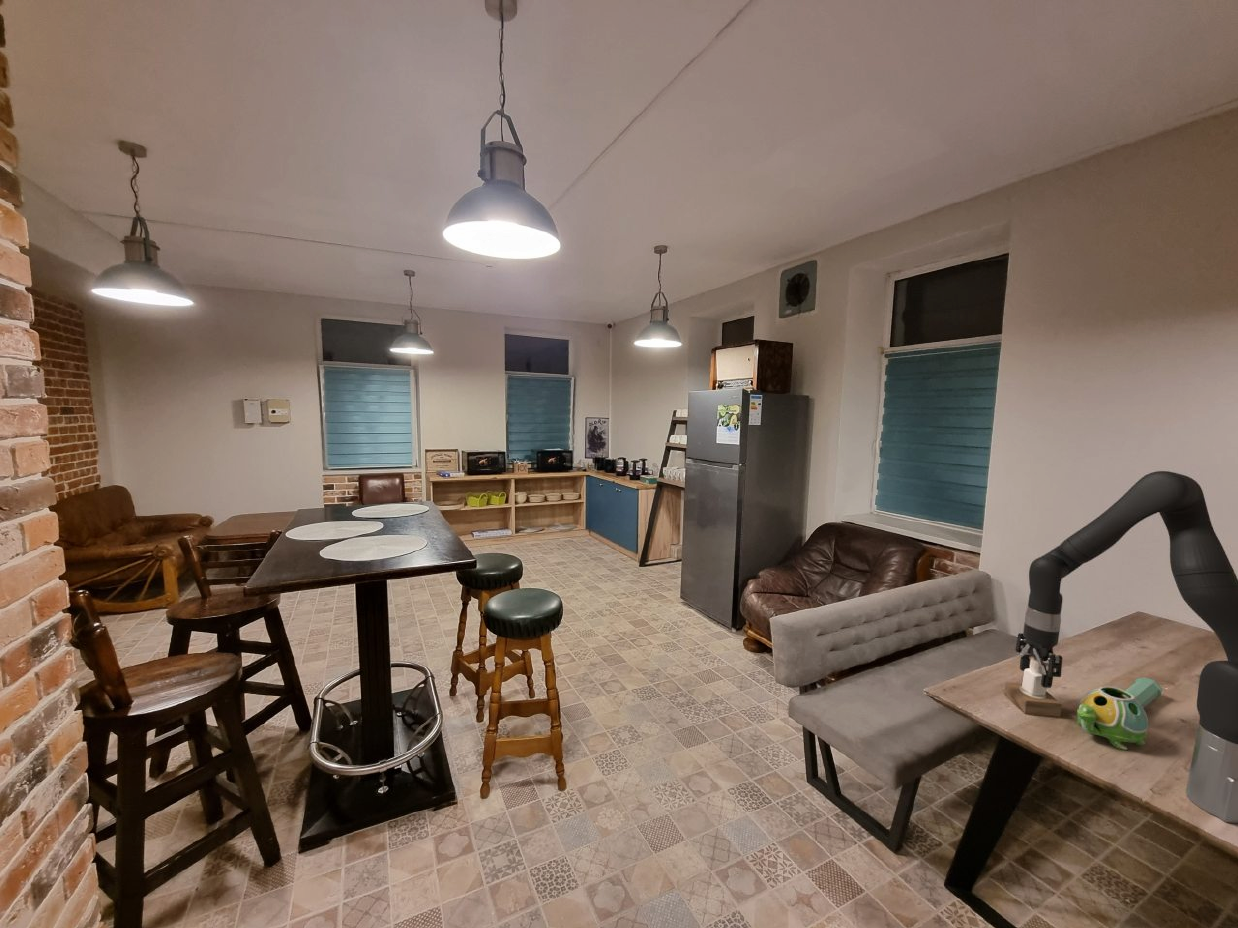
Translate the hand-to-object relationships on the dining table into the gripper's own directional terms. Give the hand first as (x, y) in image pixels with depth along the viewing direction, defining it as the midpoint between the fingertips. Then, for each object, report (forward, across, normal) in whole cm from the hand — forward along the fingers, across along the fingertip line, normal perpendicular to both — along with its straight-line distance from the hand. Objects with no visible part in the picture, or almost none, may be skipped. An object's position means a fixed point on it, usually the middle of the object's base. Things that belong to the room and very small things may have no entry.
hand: (1034, 678), depth 140 cm
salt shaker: (+4, 0, 0) cm, 5 cm away
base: (+8, 0, 0) cm, 9 cm away
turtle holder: (+9, -11, -11) cm, 18 cm away
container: (+9, +4, -29) cm, 31 cm away
